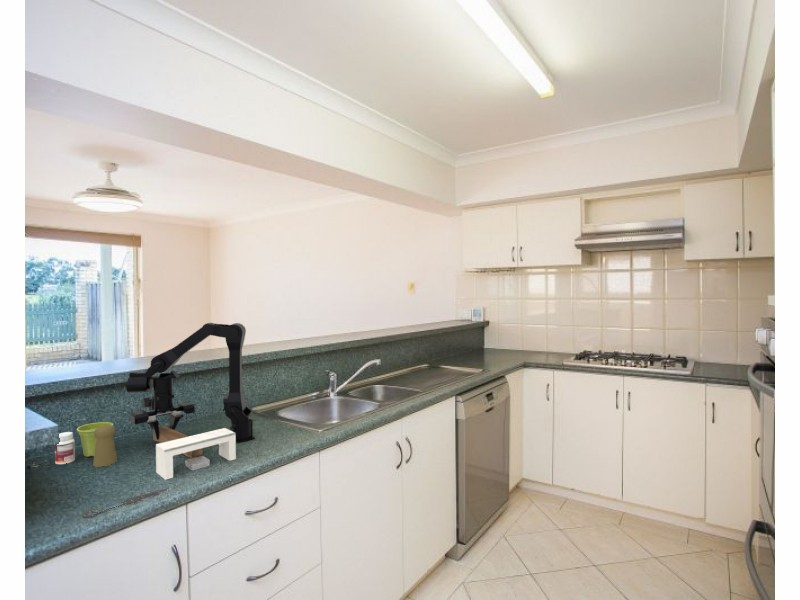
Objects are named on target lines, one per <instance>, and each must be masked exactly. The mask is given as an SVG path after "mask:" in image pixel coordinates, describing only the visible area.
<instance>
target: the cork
mask: <svg viewBox="0 0 800 600" xmlns="http://www.w3.org/2000/svg"><path fill="white" fill-rule="evenodd" d="M114 435H116V429H115V427H114V425H113V426H111V425H105V426H100V427H98V428H96V430H95V431H94V436H95V438H96V447H95V454H94V456H93V461H92V462H93V463H92V466H93V467H94V466H95V467H94V468H103V467H102V466H105V467H108V465H109V466H112V465H114V464H113V463H115V462H116V463H117V462H118V457H117V456H118V455H117V451H116V450H117V449H116V444H115V440H114ZM116 463H115V464H116ZM111 464H112V465H111Z"/></svg>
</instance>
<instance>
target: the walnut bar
mask: <svg viewBox="0 0 800 600" xmlns="http://www.w3.org/2000/svg"><path fill="white" fill-rule="evenodd" d="M185 437H189V435H186V433H185V434H184V433H183V432H179V431H178V430H176V429H175V430H173V429H171V428H169V427H168V426H166V425H162V426H161V425H160V426H159V439H158V440H157V439H156V437H155V435H154V433H153V432H152V438H153V441H155V442H156V443H157V444H159V443H164V442H168V441H172V440H176V439H180V438H185ZM203 449H204V448H201V449H197V450H193V451H189V452H186V453H182V455H185V456H186V457H188V458H189V459H192V458H195V457H199V456H204V455H203V454H204V453H203V451H204V450H203Z"/></svg>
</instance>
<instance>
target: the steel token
mask: <svg viewBox="0 0 800 600" xmlns="http://www.w3.org/2000/svg"><path fill="white" fill-rule="evenodd" d="M210 461H211V460H210V459H209V458H207V457H205V455H200V456H197V457H195V458H188V459H185V462H184V463H185V464H184V465H185V467H187V468H188V469H189V470H191V471H196V470H199V469H203V468H207V467H209V466H210Z"/></svg>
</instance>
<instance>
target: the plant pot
mask: <svg viewBox="0 0 800 600" xmlns="http://www.w3.org/2000/svg"><path fill="white" fill-rule="evenodd" d="M105 425H111V426H113V427H114V423H112V422H109V421H103V422H92V423H87V424H83V425H81V426H78V427H77V428H76V431H77V432H78V434H79V436H80V440H81V441H80V443H81V447H82V453H83V456H84V457H87V458H88V457H94V454H95V447H96V438H95V436H94V431H95V430H96V428H98V427H100V426H105Z"/></svg>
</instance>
